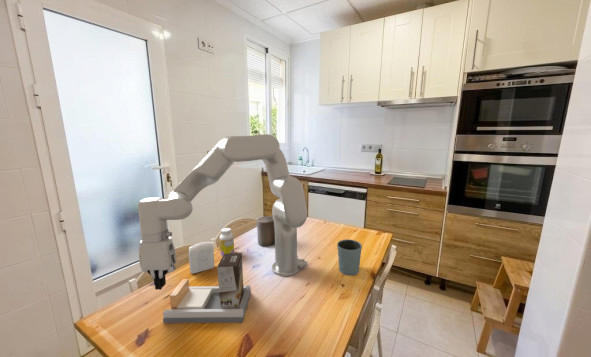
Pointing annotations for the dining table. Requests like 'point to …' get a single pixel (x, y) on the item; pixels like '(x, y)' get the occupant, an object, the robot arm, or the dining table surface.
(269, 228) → the pillar candle
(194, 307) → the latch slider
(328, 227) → the dining table surface
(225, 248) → the supplement bottle
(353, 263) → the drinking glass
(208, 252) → the photo printer
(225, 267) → the coffee box
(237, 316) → the rail board
